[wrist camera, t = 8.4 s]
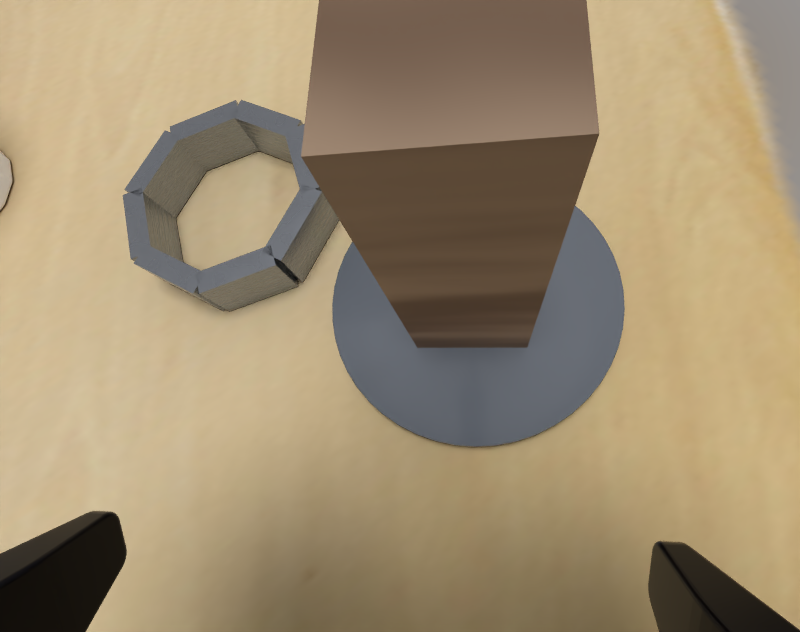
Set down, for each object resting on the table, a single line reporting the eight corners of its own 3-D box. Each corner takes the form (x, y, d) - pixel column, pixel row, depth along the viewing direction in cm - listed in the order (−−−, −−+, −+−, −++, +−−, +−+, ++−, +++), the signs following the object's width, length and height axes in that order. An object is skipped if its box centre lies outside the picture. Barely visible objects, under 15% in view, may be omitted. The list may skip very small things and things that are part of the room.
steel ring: (355, 265, 22) (339, 241, 20) (174, 331, 23) (138, 316, 20) (309, 114, 25) (290, 78, 23) (150, 176, 26) (117, 147, 23)
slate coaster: (639, 447, 18) (644, 447, 17) (329, 446, 20) (324, 445, 19) (602, 168, 21) (605, 160, 21) (342, 191, 23) (339, 184, 23)
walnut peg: (527, 347, 19) (599, 133, 7) (417, 347, 20) (301, 157, 7) (523, 246, 20) (577, -91, 8) (420, 250, 21) (324, -51, 9)
